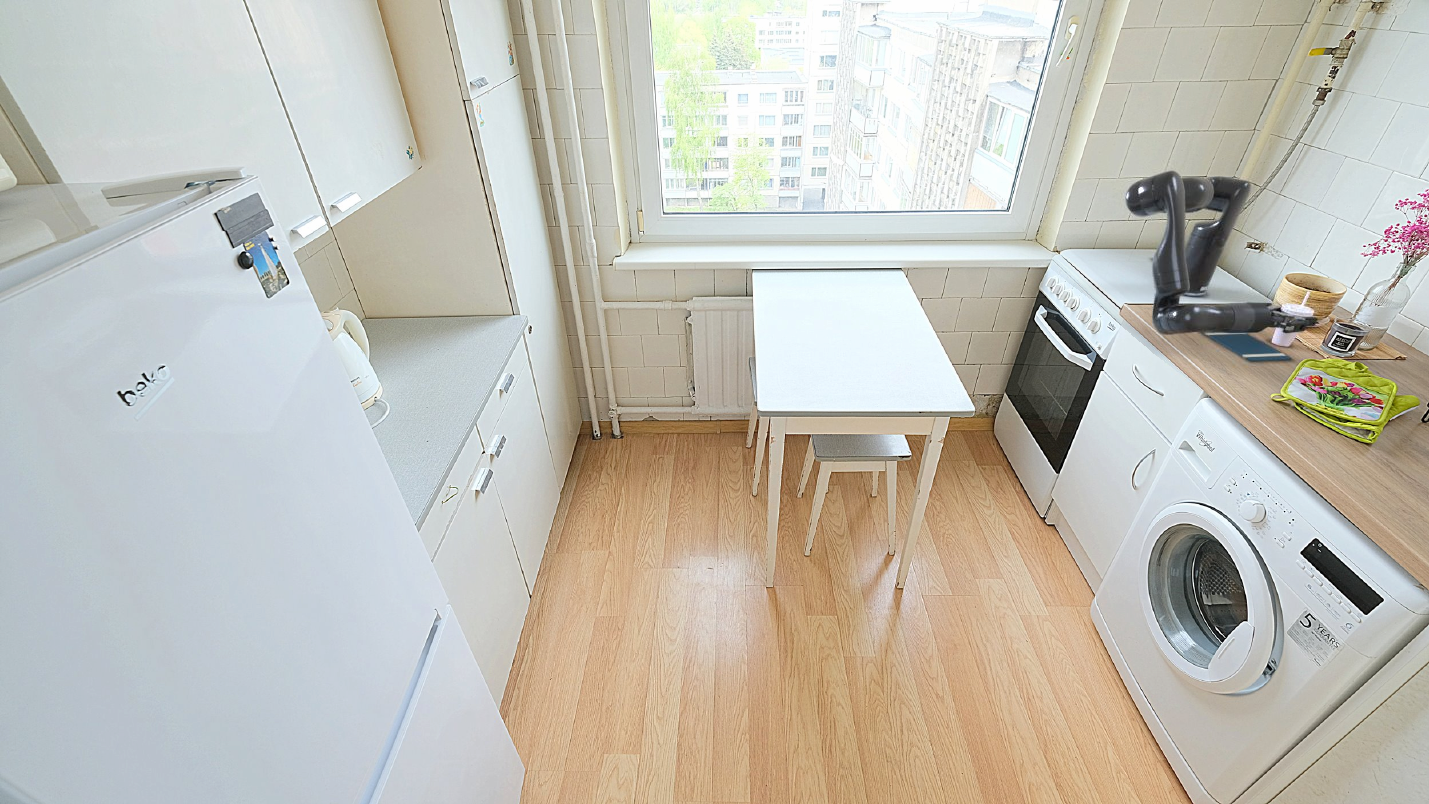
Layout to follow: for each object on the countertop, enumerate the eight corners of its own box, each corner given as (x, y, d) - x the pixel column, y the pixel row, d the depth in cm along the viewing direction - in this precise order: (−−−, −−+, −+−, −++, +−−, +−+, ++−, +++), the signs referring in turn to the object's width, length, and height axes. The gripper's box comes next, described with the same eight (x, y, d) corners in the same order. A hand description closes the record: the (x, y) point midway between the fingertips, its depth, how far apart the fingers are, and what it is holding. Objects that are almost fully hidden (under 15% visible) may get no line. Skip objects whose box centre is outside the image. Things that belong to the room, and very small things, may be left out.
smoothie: (1301, 349, 160) (1329, 297, 153) (1273, 347, 161) (1299, 295, 154) (1287, 339, 165) (1313, 288, 158) (1260, 337, 167) (1284, 286, 159)
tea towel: (1200, 331, 170) (1201, 330, 169) (1237, 330, 170) (1238, 329, 170) (1250, 361, 155) (1251, 360, 155) (1291, 359, 156) (1292, 358, 155)
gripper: (1270, 315, 150) (1337, 313, 151) (1225, 293, 163) (1287, 291, 164) (1256, 344, 154) (1321, 342, 155) (1213, 320, 167) (1273, 318, 168)
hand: (1303, 316), depth 159 cm, fingers closed on smoothie, 6 cm apart
